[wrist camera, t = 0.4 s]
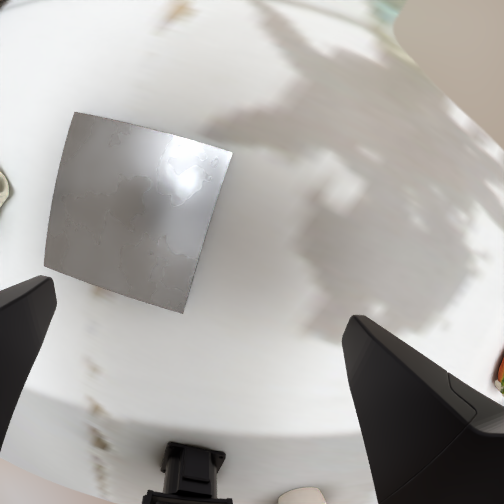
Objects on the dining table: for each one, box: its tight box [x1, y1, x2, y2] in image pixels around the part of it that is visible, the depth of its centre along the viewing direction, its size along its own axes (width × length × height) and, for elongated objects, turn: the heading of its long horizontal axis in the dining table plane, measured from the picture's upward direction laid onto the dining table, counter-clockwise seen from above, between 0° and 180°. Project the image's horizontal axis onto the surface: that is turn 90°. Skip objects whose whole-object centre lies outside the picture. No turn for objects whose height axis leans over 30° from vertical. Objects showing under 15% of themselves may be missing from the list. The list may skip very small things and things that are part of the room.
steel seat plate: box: [44, 112, 233, 314], centre depth 20 cm, size 12×12×1 cm
